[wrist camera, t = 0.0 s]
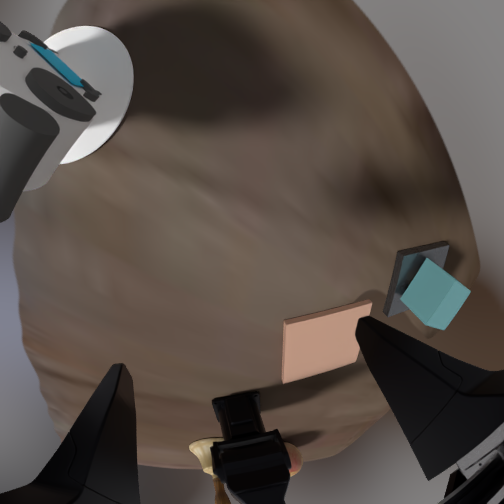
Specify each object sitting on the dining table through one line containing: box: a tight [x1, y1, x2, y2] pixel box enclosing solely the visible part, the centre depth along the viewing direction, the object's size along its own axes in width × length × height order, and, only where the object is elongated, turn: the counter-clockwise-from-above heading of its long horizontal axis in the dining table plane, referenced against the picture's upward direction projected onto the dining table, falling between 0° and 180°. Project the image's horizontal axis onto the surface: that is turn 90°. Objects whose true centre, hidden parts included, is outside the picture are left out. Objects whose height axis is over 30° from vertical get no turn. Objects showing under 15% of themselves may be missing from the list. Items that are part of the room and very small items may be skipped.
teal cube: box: [400, 258, 471, 330], centre depth 28 cm, size 6×6×5 cm
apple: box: [284, 442, 303, 477], centre depth 43 cm, size 9×9×8 cm
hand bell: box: [189, 438, 231, 504], centre depth 34 cm, size 8×8×16 cm
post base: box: [383, 241, 449, 317], centre depth 29 cm, size 9×9×6 cm
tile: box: [282, 299, 372, 384], centre depth 33 cm, size 11×11×1 cm
